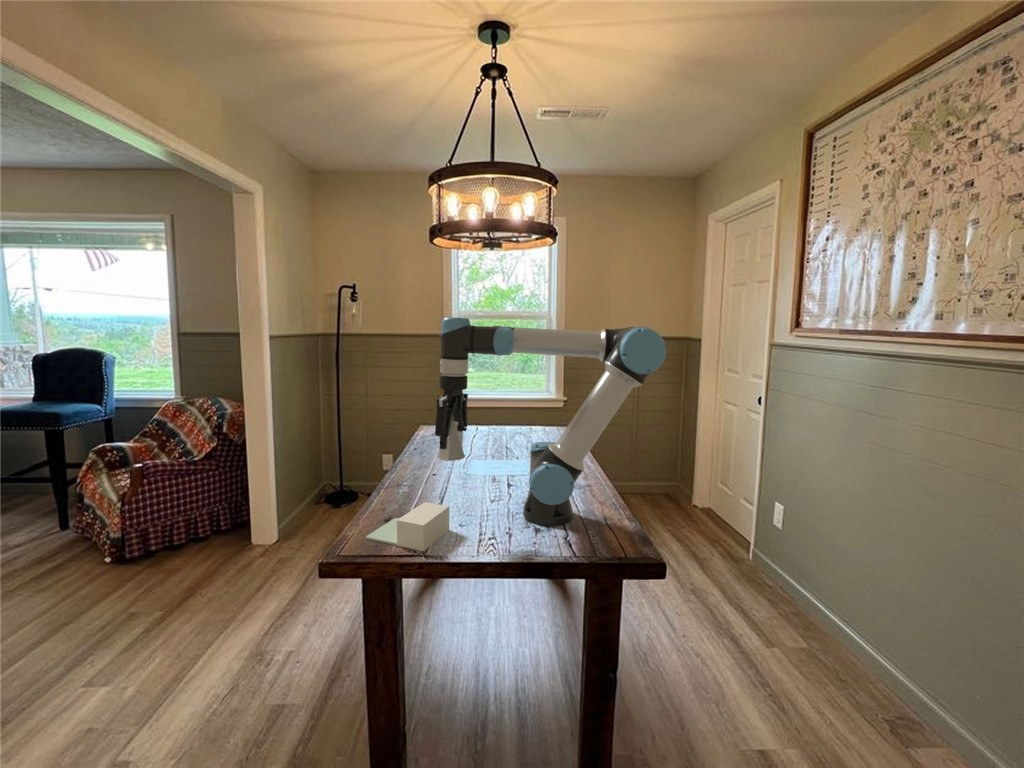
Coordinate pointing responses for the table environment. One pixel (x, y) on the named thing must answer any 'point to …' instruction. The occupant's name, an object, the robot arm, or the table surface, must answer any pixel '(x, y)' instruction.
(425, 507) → the block
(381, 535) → the mat
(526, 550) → the table surface
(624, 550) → the table surface
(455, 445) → the flask
